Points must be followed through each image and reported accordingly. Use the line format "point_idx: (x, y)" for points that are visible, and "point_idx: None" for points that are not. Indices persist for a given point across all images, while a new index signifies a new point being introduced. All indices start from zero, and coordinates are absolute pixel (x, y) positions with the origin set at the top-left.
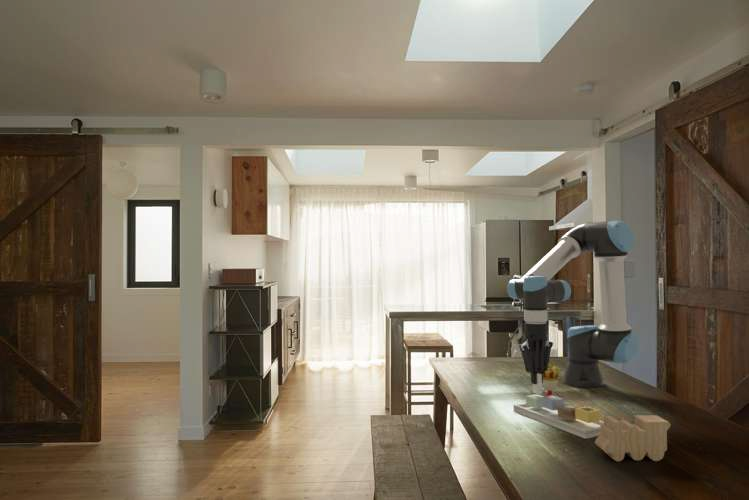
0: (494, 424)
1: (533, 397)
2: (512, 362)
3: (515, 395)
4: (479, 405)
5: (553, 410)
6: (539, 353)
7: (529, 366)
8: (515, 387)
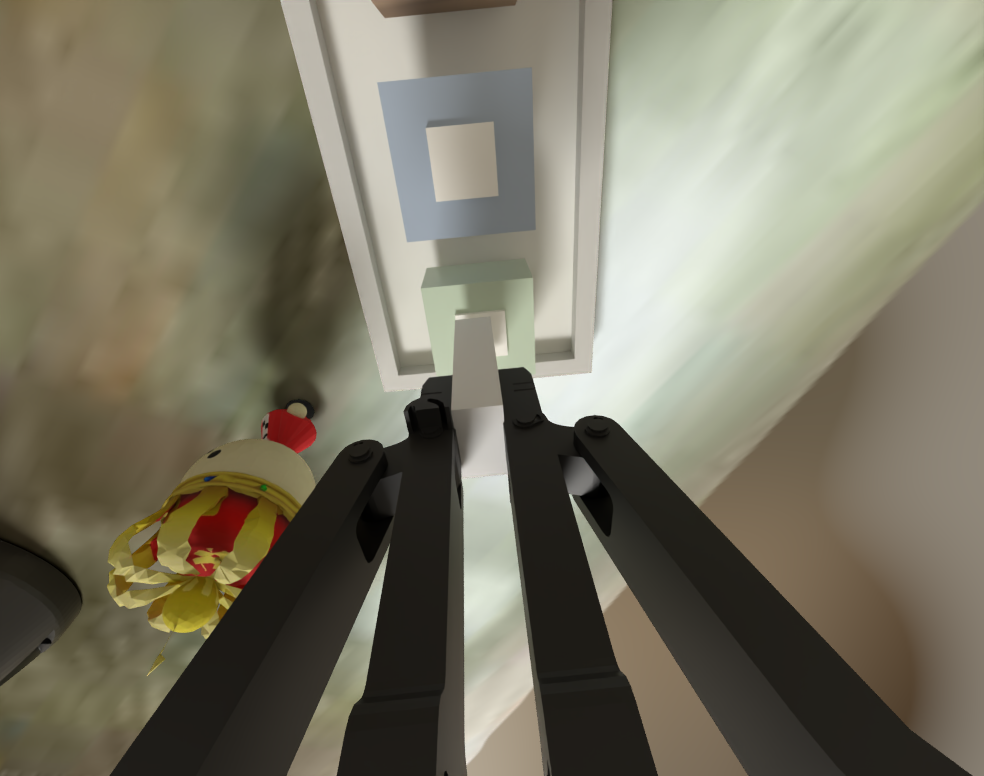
0: (870, 192)
1: (517, 326)
2: None
3: None
4: None
5: (400, 234)
6: (448, 697)
7: (662, 477)
8: None
